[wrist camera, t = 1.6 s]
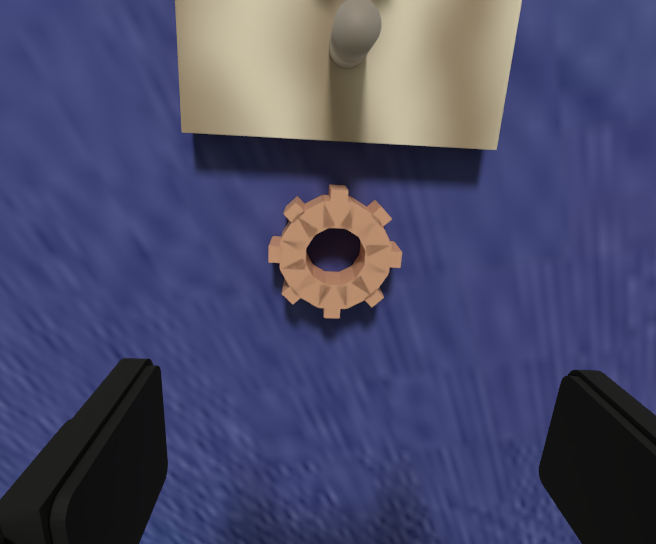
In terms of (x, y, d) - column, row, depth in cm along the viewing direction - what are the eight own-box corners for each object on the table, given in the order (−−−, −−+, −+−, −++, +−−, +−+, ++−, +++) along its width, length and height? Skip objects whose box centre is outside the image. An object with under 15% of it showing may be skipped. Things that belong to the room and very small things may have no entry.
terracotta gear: (399, 187, 24) (408, 193, 22) (387, 304, 26) (394, 320, 24) (273, 181, 24) (269, 186, 22) (271, 300, 26) (267, 316, 24)
